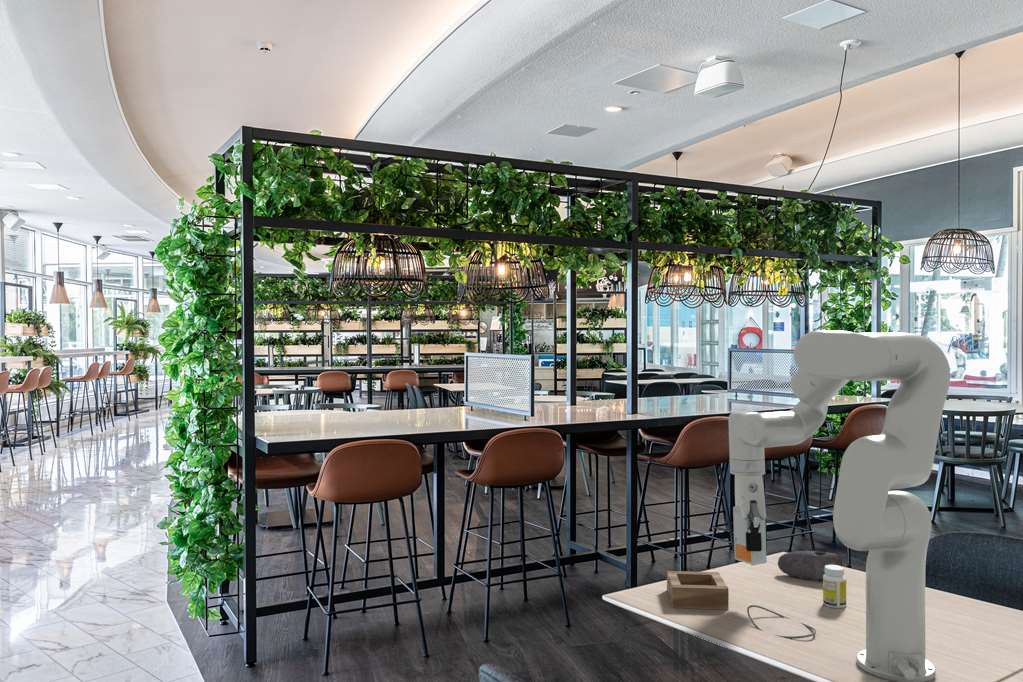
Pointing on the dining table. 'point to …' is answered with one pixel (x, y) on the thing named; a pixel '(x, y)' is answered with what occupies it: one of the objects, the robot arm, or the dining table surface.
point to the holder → (697, 590)
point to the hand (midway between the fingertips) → (750, 546)
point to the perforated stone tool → (808, 563)
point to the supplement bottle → (834, 587)
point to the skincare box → (740, 541)
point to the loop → (781, 616)
